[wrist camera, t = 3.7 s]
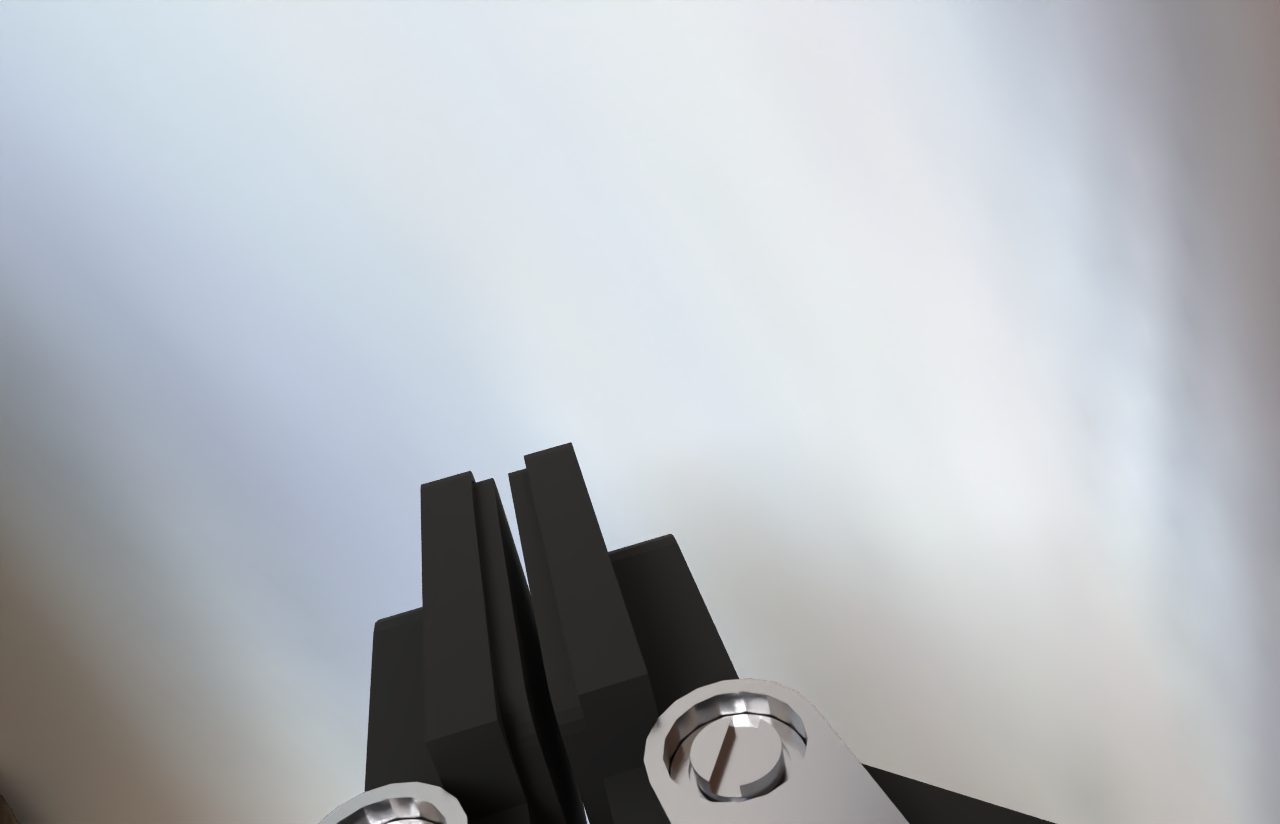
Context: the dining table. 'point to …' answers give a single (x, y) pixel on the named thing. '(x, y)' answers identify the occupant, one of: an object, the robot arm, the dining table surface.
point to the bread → (6, 813)
